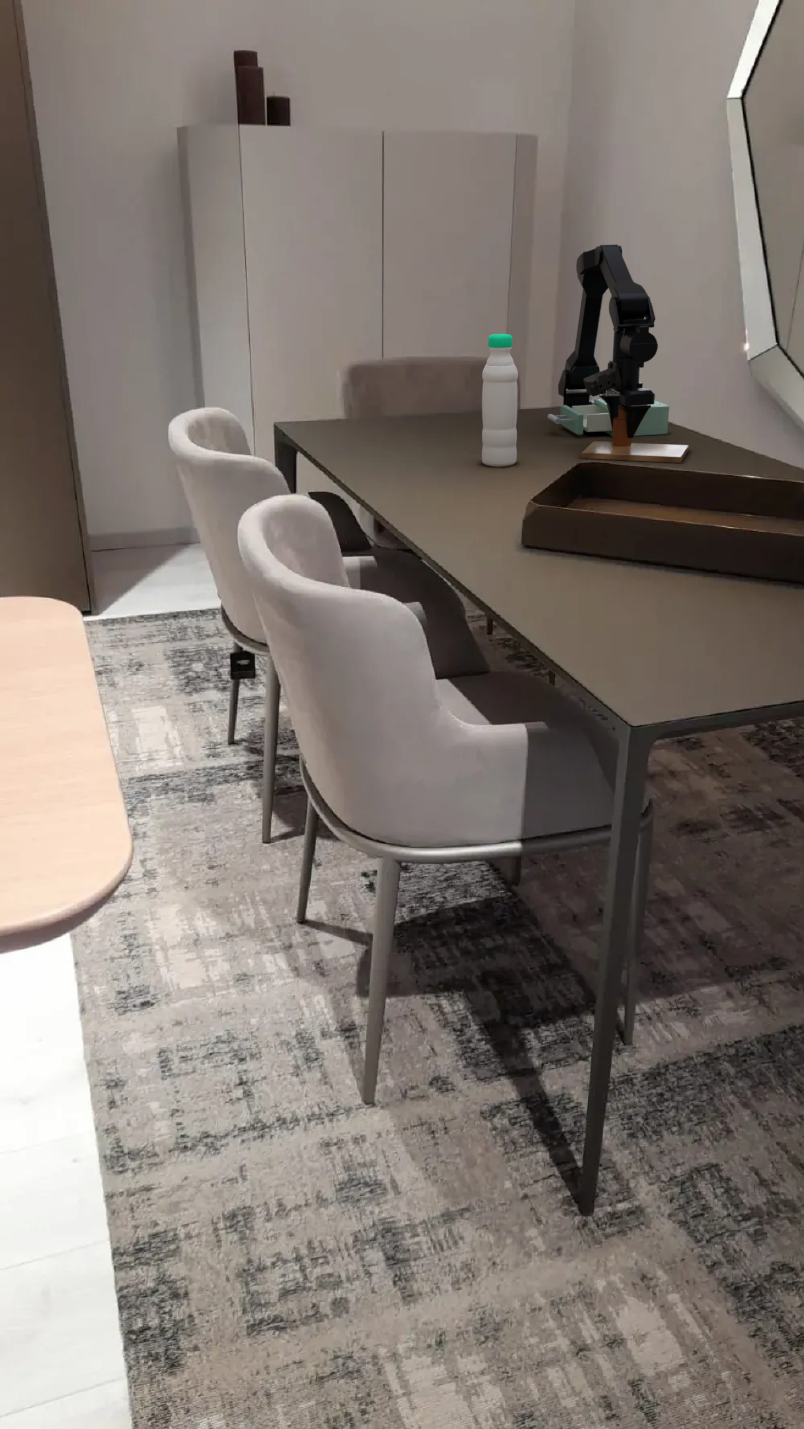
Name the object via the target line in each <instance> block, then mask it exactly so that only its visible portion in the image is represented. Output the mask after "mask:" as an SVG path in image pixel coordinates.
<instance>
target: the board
mask: <svg viewBox="0 0 804 1429" xmlns="http://www.w3.org/2000/svg"><path fill="white" fill-rule="evenodd" d="M688 452H689V445H687V444H666V443H665V444H663V443H646V442H645V443H644V442H641V443H640V442H631V445H630V446H625V447H619V446H613V445H612V441H599V440H598V441H597V440H596V441H595V440H594V441H592V442H591V443H590V444H589V445H588V446H587V447H586V448H585V449H584V450H583V451H582V452H581V459H589V460H591V459H592V460H610V461H612V460H613V461H630V462H631V461H632V462H633V461H634V462H652V463H653V462H654V463H669V464H670V463H671V464H672V463H673V464H680V463H682V461H683V460H684V458H685V457H686V455H687V453H688Z"/></svg>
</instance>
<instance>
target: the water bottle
mask: <svg viewBox="0 0 804 1429" xmlns="http://www.w3.org/2000/svg"><path fill="white" fill-rule="evenodd" d="M513 340H514V339H513V336H512V335H511V334H509V333H494V334H490V335H489V336H488V339H487V345H488V350H489V352H490V353H489V356H488V358H487V359H486V364H485V365H484V368H483V370H482V372H481V373H482V374H481V378H482V394H481V417H482V431H481V442H482V450H481V462H482V463H483V465H485V466H488V467H492V468H493V467H494V468H500V467H501V468H502V467H510V466H513V465H514V464H515V463H517V460H518V459H517V458H518V455H517V454H518V452H517V440H518V431H517V421H518V378H519V371H518V368H517V366H516V364H515V361H514V358H513V357H512V355H511V350H512V349H513V343H514V341H513Z"/></svg>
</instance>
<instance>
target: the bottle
mask: <svg viewBox="0 0 804 1429" xmlns="http://www.w3.org/2000/svg"><path fill="white" fill-rule="evenodd" d="M618 409H619V414H618V417H616V418H614V419H613V436H611V437H612V439H611V442H612V445H613V446H619V447H625V446H630V445H631V443H633V442H632V440H633V438H628V437H627V430H626V416H625V412H624V411H623V409H622V408H621V407H620V406H618Z"/></svg>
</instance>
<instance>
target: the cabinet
mask: <svg viewBox="0 0 804 1429" xmlns="http://www.w3.org/2000/svg"><path fill="white" fill-rule="evenodd" d="M593 401H594V405H600V406H602V407H604V408H606V409H608V407H607V404H606V403H605V402H604V401H603V400H602V399H601V398H594V399H593ZM669 416H670V405H668V404H665V403H663V402H660V401H658V400H656V399H655V401H654V404H653V405H651V408H649V409H648V411H647V413H646V414H645V416H644V418H643V420H642V421H641V423H640V425H639V427H638V429H637V431H636V433H635V435H634V437H638V436H639V437H640V436H654V435H655V436H656V435H667V434H668V428H669ZM603 432H604V433H605V434H608V435H609V436H610V437H612V436H613V431H603Z"/></svg>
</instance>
